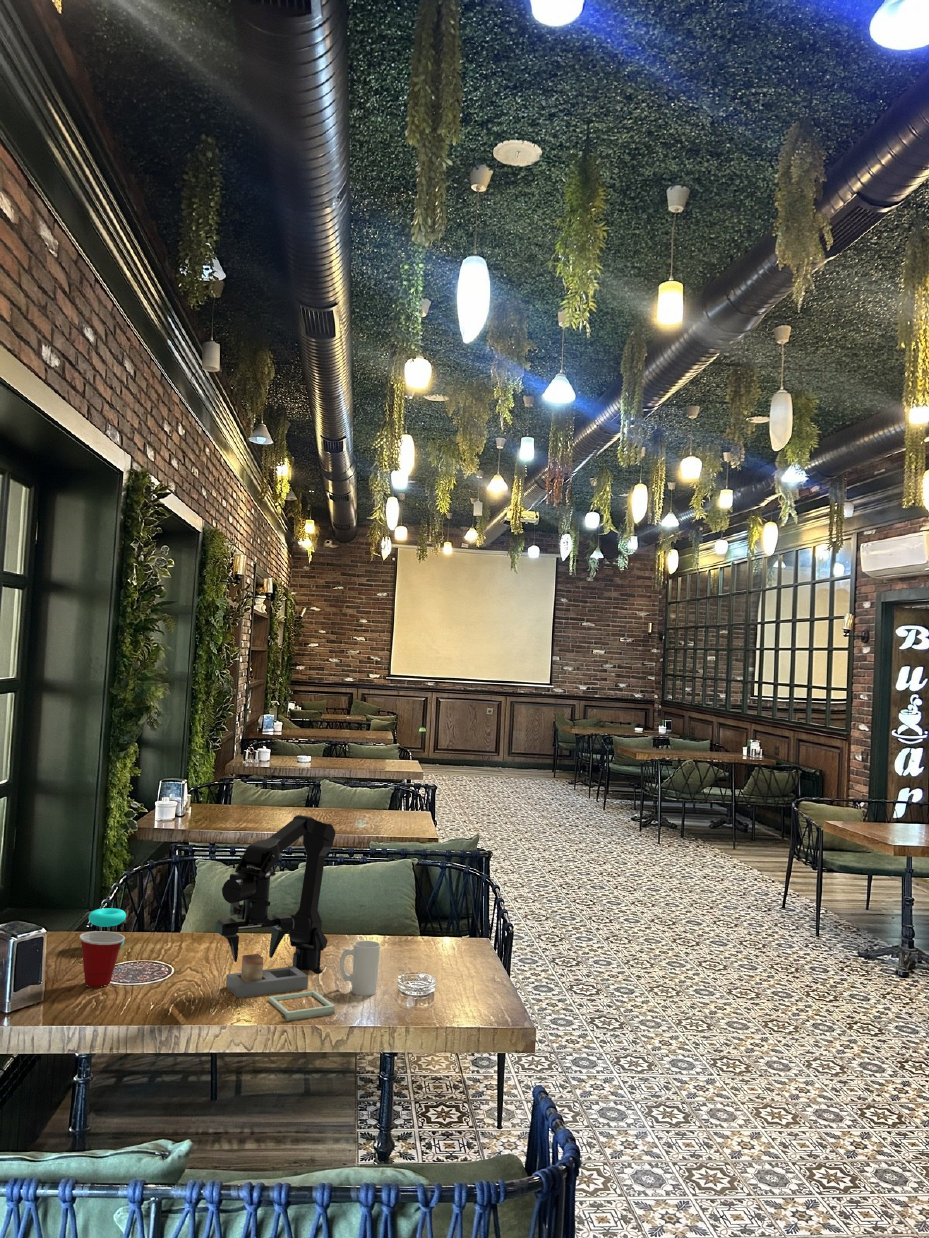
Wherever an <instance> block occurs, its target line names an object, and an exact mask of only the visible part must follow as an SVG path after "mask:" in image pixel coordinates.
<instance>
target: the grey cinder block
mask: <svg viewBox="0 0 929 1238" xmlns="http://www.w3.org/2000/svg"><path fill="white" fill-rule="evenodd" d="M308 979H309V976H308V975H307V974H305V973H304V972H303V971H302V970H299V969H297V968H296V967H295V966H293V965H292V966H286V967H277V968H269V969H268V968H267V969H263V972H262V980H256V981H249V982H244V981H243V980H242V979H241V972H237V973H236V972H235V973H228V974H226V980H225V981H226V982H225V988H227V989H228V990H229V991H230V992H231V993H232V994H233V995H234V996H235V997H237V998H238V999H239V998H241V999H242V998H248V997H249V998H250V997H255V996H264V995H270V994H278V993H286V992H293V991H300V990H307V989H308V982H309V981H308Z"/></svg>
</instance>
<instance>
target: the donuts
mask: <svg viewBox="0 0 929 1238" xmlns="http://www.w3.org/2000/svg"><path fill="white" fill-rule="evenodd" d="M126 918H127V913H126V912H125V911H124V910H123V909H120V908H114V907H113V908H112V907H110V908H109V907H108V908H107V907H106V908H104V907H103V908H98V909H94V910H91V912H90V913H89V914H88V918H87V919H88V921H89V923H90V924H92V925H94V926H95V927H103V928H104V927H106V928H108V927H115V926H118V925H120V924H123V922H124V921H125V920H126ZM113 932H114V933H116V932H115V931H113ZM124 943H125V940H124V941H123V943H122V945H121V947H123V945H124Z"/></svg>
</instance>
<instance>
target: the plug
mask: <svg viewBox="0 0 929 1238" xmlns="http://www.w3.org/2000/svg"><path fill="white" fill-rule="evenodd" d="M263 970H264V957H263V956H262V955H260V954H259V953H253V954H243V955H242V956H241V970H240V973H241V979H242V980H243V981H244V982H249V981H256V980H262V972H263Z"/></svg>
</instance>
